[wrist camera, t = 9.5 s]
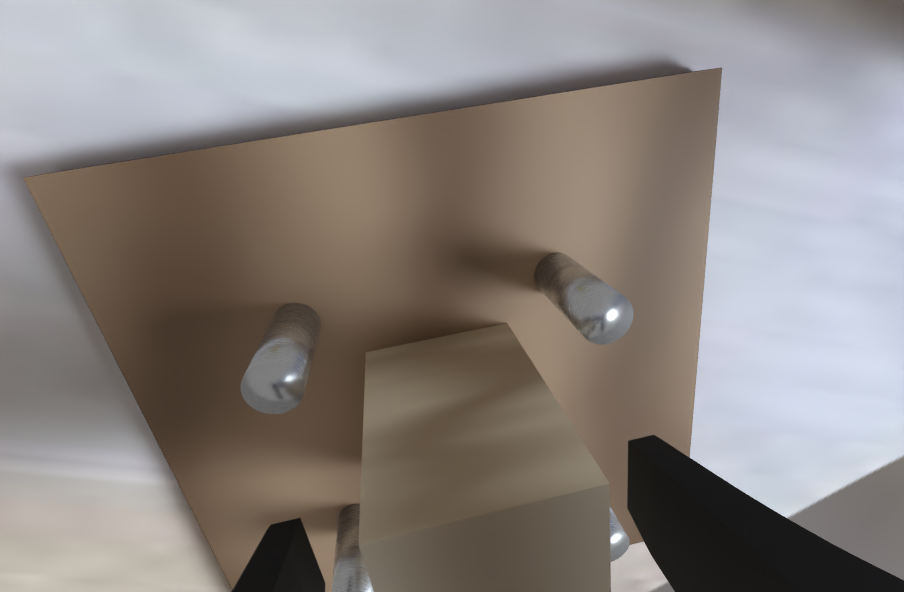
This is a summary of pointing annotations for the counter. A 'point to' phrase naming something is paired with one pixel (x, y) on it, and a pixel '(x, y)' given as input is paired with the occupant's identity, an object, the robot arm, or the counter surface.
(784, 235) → the counter surface
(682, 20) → the counter surface
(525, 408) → the block
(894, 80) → the counter surface
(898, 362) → the counter surface
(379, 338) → the peg board
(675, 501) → the robot arm
